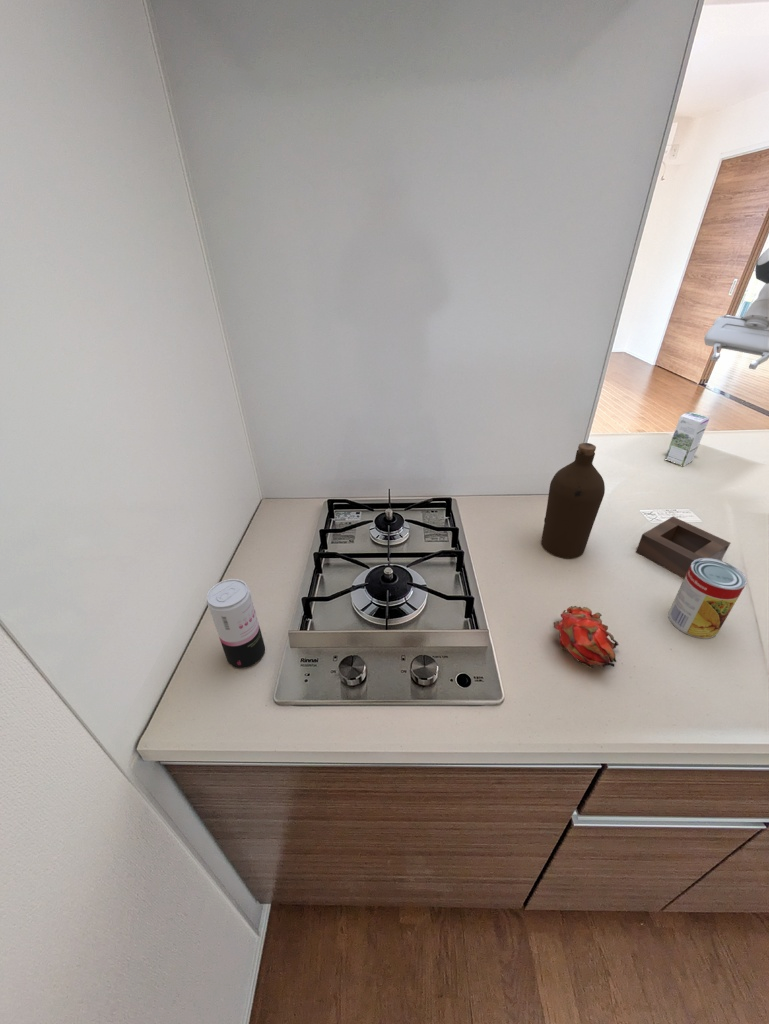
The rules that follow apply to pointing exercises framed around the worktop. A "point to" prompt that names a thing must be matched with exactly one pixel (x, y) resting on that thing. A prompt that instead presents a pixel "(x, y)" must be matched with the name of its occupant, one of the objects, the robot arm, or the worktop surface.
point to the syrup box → (687, 438)
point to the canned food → (706, 597)
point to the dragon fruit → (586, 637)
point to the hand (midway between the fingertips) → (732, 363)
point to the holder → (680, 545)
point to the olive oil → (573, 505)
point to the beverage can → (236, 622)
